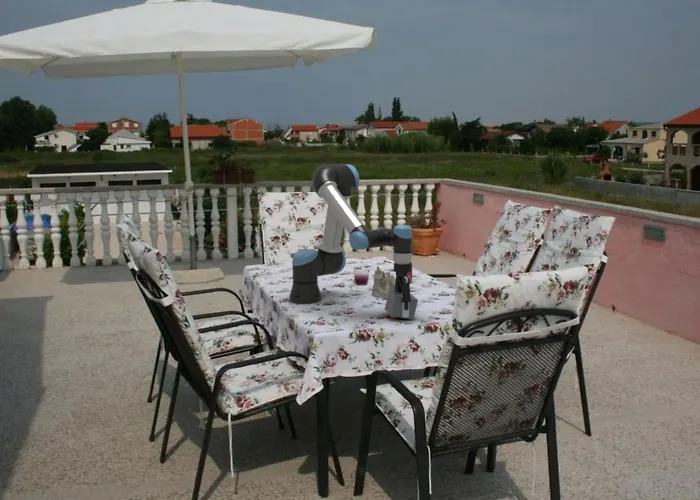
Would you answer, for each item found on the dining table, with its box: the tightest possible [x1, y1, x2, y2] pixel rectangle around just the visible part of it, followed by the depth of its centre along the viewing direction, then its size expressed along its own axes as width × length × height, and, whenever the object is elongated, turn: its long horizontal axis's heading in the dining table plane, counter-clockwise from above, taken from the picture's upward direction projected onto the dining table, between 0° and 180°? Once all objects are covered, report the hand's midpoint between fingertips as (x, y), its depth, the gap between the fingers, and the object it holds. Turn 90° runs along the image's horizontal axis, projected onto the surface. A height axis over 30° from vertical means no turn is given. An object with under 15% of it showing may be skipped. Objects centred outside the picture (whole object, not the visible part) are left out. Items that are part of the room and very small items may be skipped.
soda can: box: [407, 261, 413, 283], centre depth 349 cm, size 7×7×12 cm
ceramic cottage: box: [371, 265, 396, 300], centre depth 323 cm, size 16×16×15 cm
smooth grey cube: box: [384, 290, 419, 321], centre depth 282 cm, size 10×10×9 cm
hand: (402, 313), depth 283 cm, fingers closed on smooth grey cube, 10 cm apart
